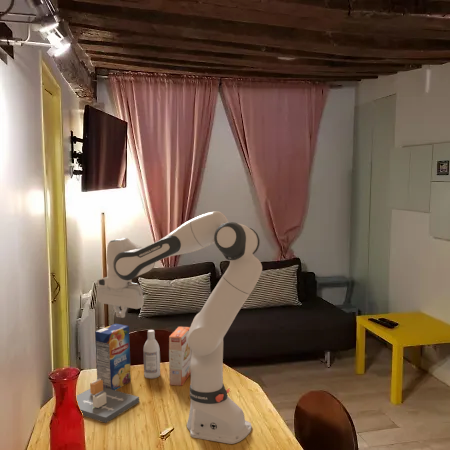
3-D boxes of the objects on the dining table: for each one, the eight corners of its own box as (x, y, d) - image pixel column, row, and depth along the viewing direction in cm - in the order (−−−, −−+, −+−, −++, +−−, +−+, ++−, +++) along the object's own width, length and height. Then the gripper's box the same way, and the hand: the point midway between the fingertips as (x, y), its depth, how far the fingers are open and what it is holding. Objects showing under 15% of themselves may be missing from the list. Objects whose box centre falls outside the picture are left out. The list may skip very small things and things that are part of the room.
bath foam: (150, 371, 215) (149, 327, 213) (163, 374, 212) (162, 329, 210) (140, 377, 209) (139, 331, 207) (154, 380, 206) (152, 334, 204)
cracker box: (183, 386, 199) (182, 337, 197) (169, 385, 201) (167, 336, 198) (192, 372, 213) (191, 326, 211) (178, 372, 214) (177, 325, 212)
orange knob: (103, 390, 191) (102, 378, 191) (95, 394, 187) (94, 383, 187) (98, 388, 192) (98, 377, 192) (90, 393, 189) (90, 381, 188)
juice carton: (117, 377, 209) (115, 323, 206) (130, 381, 205) (129, 326, 202) (97, 388, 198) (95, 331, 196) (111, 392, 195) (108, 334, 192)
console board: (139, 402, 186) (139, 396, 186) (105, 423, 171) (105, 417, 170) (96, 389, 197) (96, 385, 197) (61, 408, 182) (61, 403, 181)
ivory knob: (106, 403, 180) (106, 391, 180) (97, 408, 177) (97, 395, 176) (101, 401, 182) (101, 389, 181) (93, 406, 178) (92, 394, 177)
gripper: (146, 282, 180) (147, 318, 182) (105, 276, 190) (106, 311, 192) (135, 285, 175) (136, 323, 176) (93, 280, 185) (95, 315, 186)
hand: (120, 317), depth 184 cm, fingers closed
